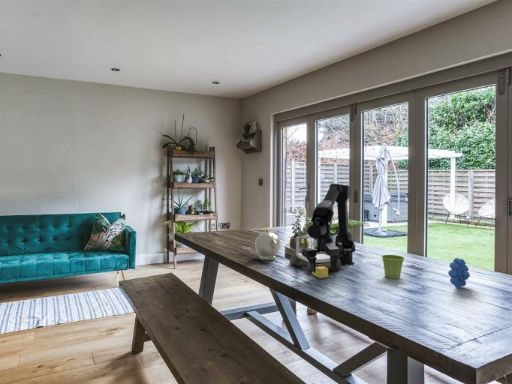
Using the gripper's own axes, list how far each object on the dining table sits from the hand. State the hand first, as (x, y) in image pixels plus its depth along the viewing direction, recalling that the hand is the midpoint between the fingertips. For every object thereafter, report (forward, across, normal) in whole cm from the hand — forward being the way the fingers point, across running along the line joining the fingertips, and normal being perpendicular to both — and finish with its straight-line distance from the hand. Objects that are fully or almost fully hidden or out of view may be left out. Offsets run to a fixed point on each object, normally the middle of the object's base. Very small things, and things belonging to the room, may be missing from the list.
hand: (323, 271), depth 159 cm
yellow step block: (+3, 0, +3) cm, 4 cm away
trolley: (+3, +6, +18) cm, 19 cm away
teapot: (+3, -6, +42) cm, 42 cm away
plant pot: (+3, +28, -12) cm, 30 cm away
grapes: (+3, +38, -36) cm, 52 cm away
